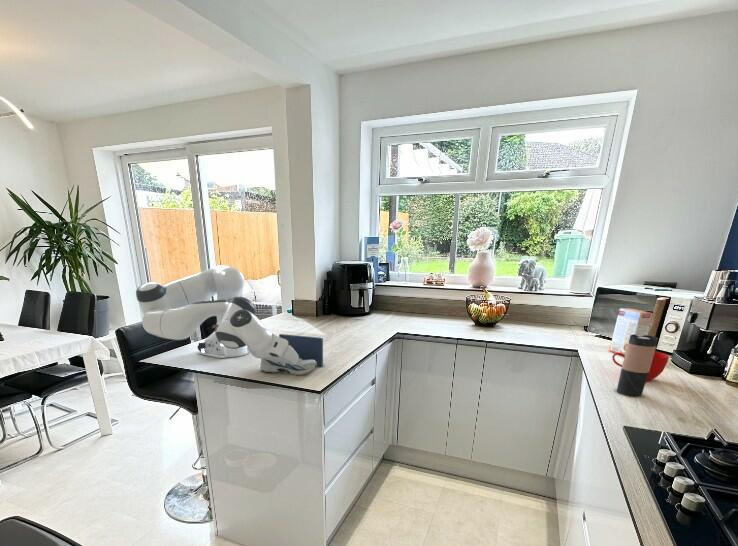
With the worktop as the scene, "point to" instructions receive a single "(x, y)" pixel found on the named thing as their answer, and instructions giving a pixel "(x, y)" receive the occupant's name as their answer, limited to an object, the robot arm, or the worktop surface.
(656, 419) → the worktop surface
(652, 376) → the ceramic cup
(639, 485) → the worktop surface
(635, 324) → the cracker box
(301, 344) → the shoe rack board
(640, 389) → the travel mug
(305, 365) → the athletic shoe
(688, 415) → the worktop surface
